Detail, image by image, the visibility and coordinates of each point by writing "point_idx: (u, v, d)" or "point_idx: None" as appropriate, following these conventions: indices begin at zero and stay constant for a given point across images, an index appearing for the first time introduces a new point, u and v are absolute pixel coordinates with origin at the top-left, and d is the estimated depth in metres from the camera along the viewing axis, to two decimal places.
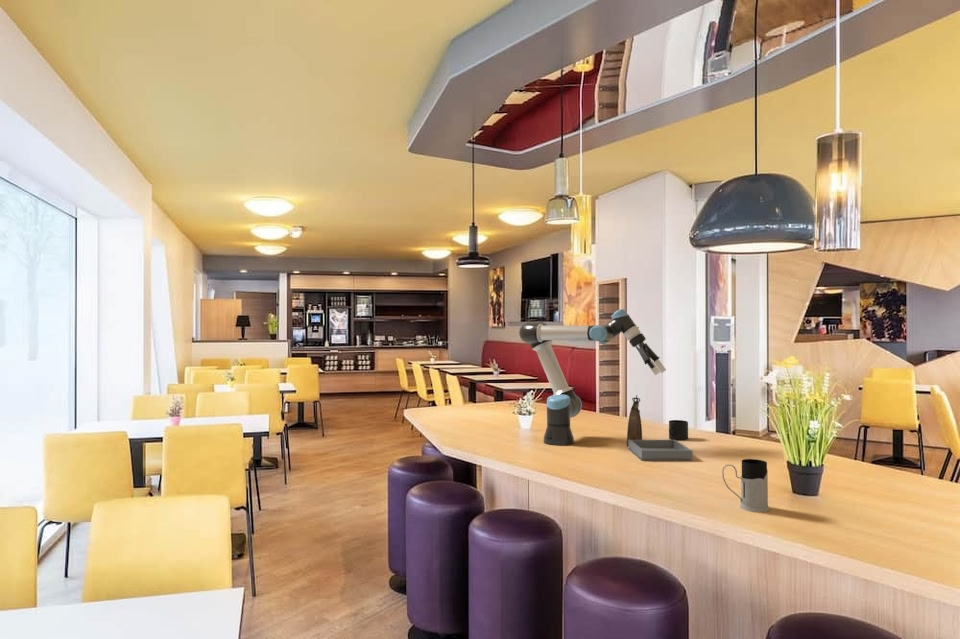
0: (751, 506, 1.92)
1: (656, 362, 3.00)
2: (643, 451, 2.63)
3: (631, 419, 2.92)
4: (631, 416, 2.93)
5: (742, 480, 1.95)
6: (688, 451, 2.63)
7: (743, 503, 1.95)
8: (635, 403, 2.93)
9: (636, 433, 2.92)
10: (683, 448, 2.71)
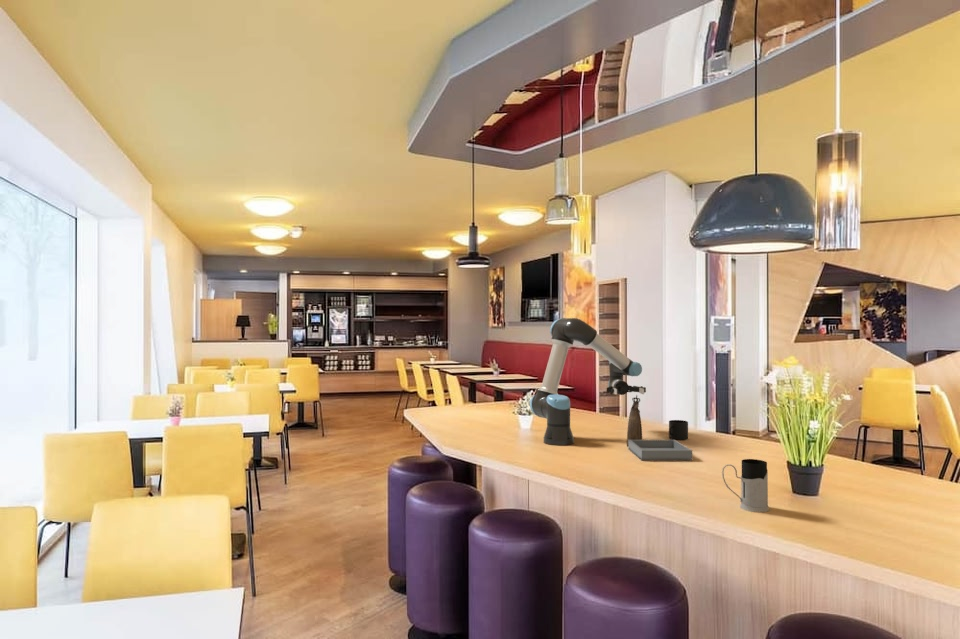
0: (751, 506, 1.92)
1: None
2: (643, 451, 2.63)
3: (631, 419, 2.92)
4: (631, 416, 2.93)
5: (742, 480, 1.95)
6: (688, 451, 2.63)
7: (743, 503, 1.95)
8: (635, 403, 2.93)
9: (636, 433, 2.92)
10: (683, 448, 2.71)
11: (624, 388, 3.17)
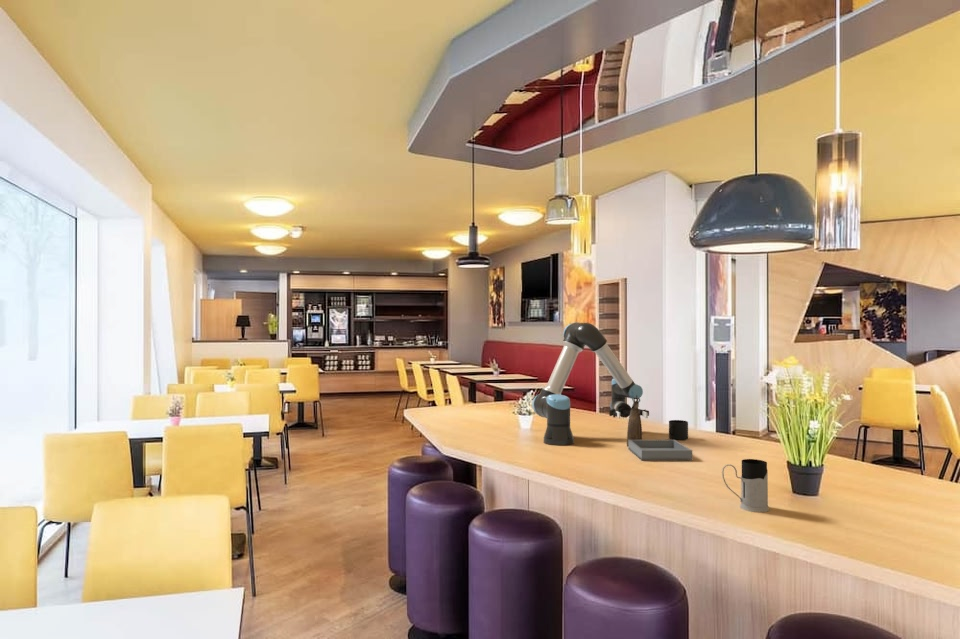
0: (751, 506, 1.92)
1: None
2: (643, 451, 2.63)
3: (631, 419, 2.92)
4: (631, 416, 2.93)
5: (742, 480, 1.95)
6: (688, 451, 2.63)
7: (743, 503, 1.95)
8: (635, 403, 2.93)
9: (636, 433, 2.92)
10: (683, 448, 2.71)
11: (627, 411, 3.13)
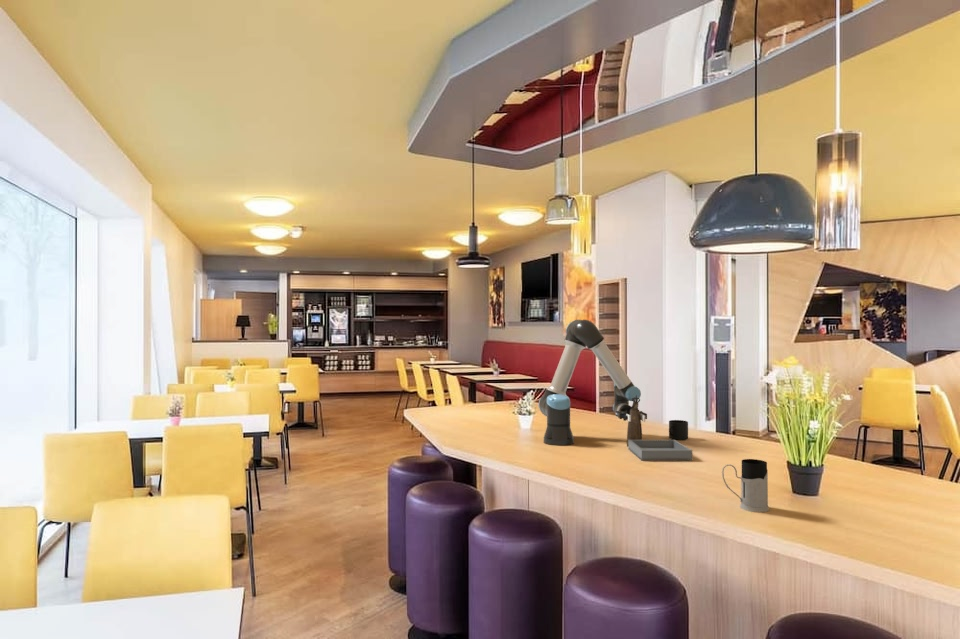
0: (751, 506, 1.92)
1: None
2: (643, 451, 2.63)
3: (631, 419, 2.92)
4: (631, 416, 2.92)
5: (742, 480, 1.95)
6: (688, 451, 2.63)
7: (743, 503, 1.95)
8: (635, 403, 2.93)
9: (636, 433, 2.92)
10: (683, 448, 2.71)
11: None
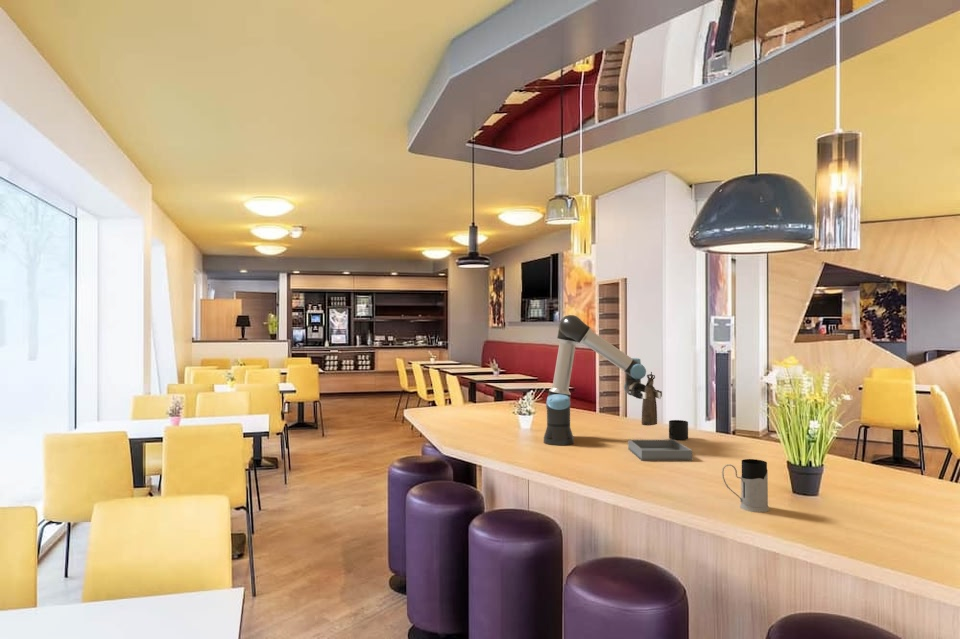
0: (751, 506, 1.92)
1: None
2: (643, 451, 2.63)
3: (646, 396, 2.83)
4: (646, 393, 2.84)
5: (742, 480, 1.95)
6: (688, 451, 2.63)
7: (743, 503, 1.95)
8: (650, 380, 2.84)
9: (652, 411, 2.83)
10: (683, 448, 2.71)
11: None
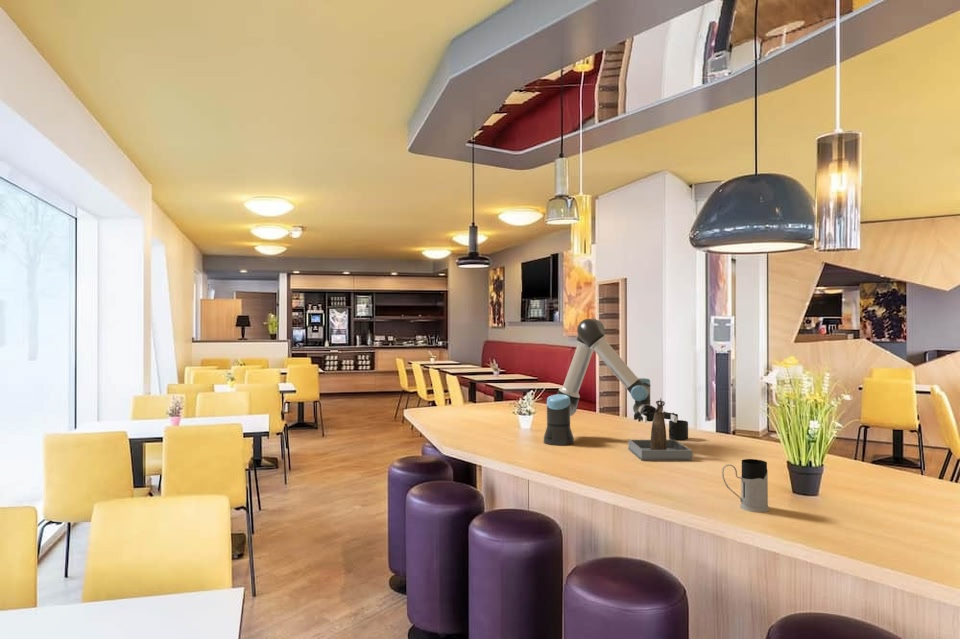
0: (751, 506, 1.92)
1: None
2: (643, 451, 2.63)
3: (655, 424, 2.72)
4: (655, 421, 2.72)
5: (742, 480, 1.95)
6: (688, 451, 2.63)
7: (743, 503, 1.95)
8: (659, 407, 2.73)
9: (661, 439, 2.72)
10: (683, 448, 2.71)
11: (653, 414, 2.84)
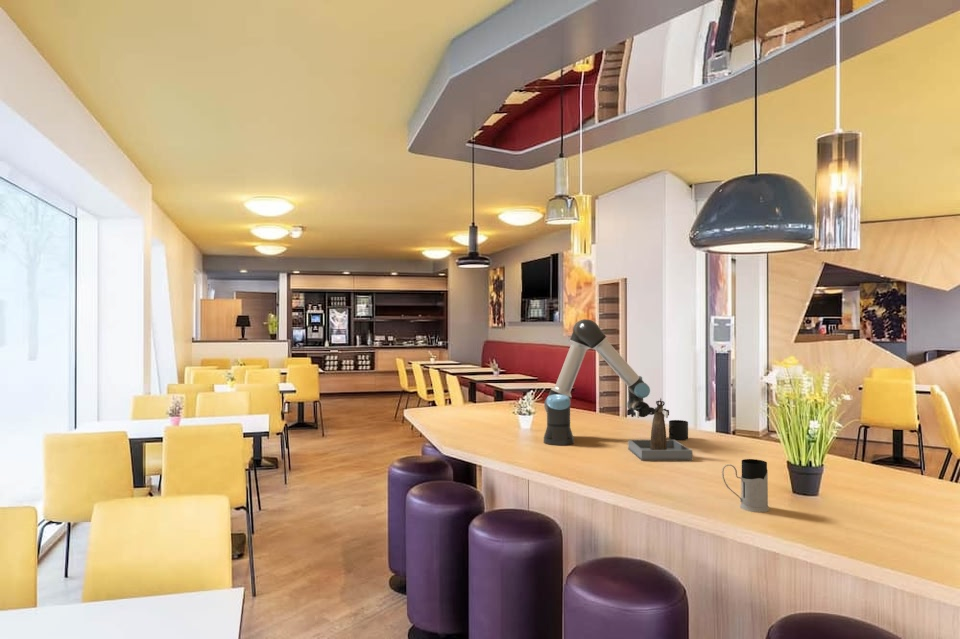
0: (751, 506, 1.92)
1: None
2: (643, 451, 2.63)
3: (655, 424, 2.72)
4: (655, 421, 2.72)
5: (742, 480, 1.95)
6: (688, 451, 2.63)
7: (743, 503, 1.95)
8: (659, 407, 2.73)
9: (661, 439, 2.72)
10: (683, 448, 2.71)
11: (646, 410, 2.97)
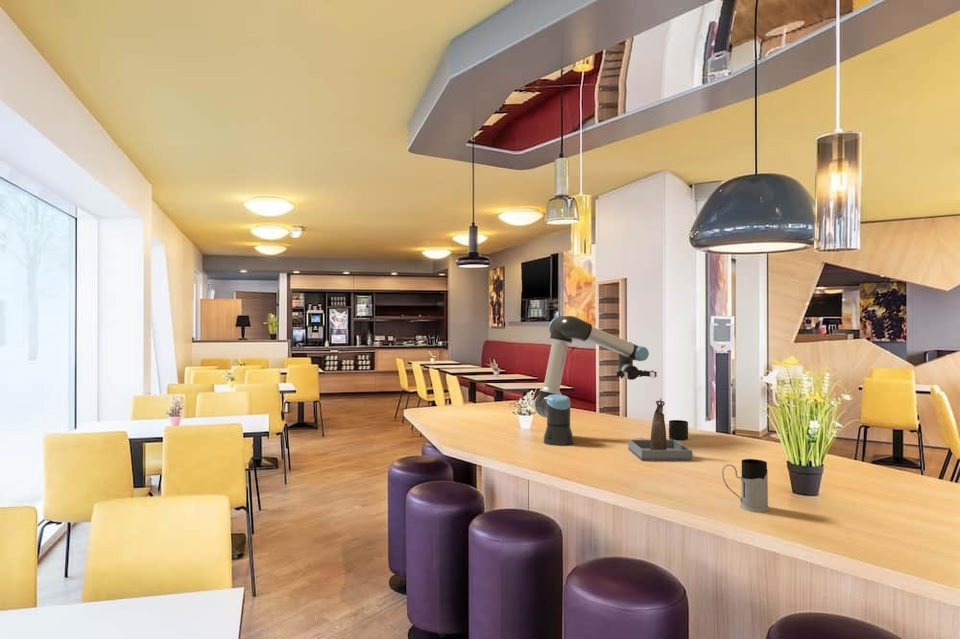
0: (751, 506, 1.92)
1: None
2: (643, 451, 2.63)
3: (655, 424, 2.72)
4: (655, 421, 2.72)
5: (742, 480, 1.95)
6: (688, 451, 2.63)
7: (743, 503, 1.95)
8: (659, 407, 2.73)
9: (661, 439, 2.72)
10: (683, 448, 2.71)
11: (634, 372, 3.11)
